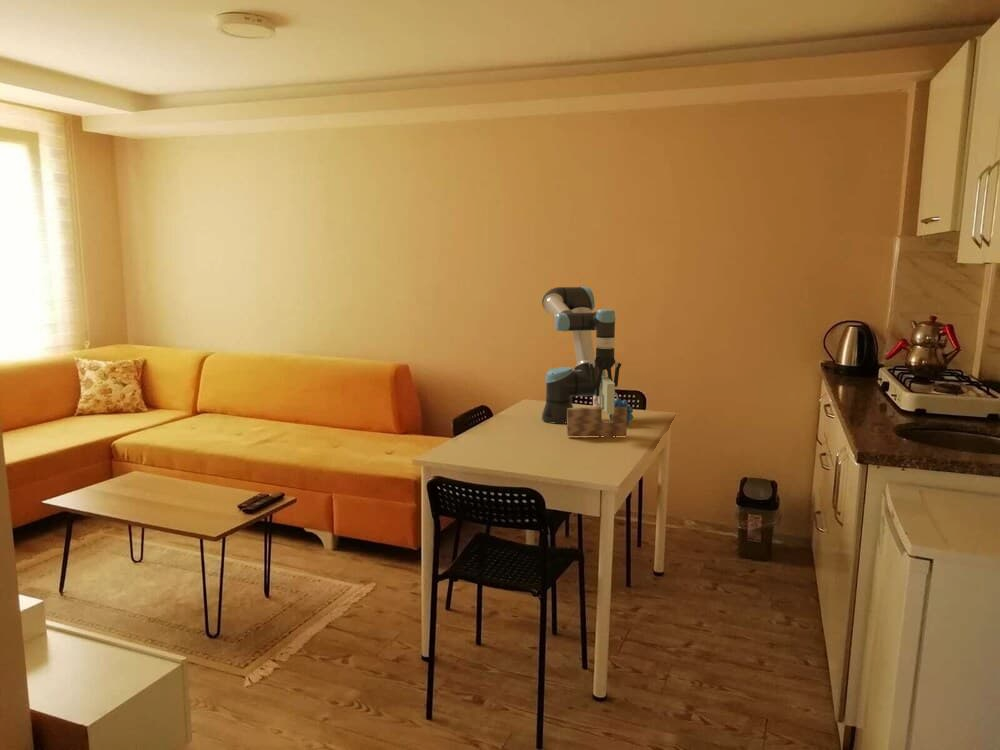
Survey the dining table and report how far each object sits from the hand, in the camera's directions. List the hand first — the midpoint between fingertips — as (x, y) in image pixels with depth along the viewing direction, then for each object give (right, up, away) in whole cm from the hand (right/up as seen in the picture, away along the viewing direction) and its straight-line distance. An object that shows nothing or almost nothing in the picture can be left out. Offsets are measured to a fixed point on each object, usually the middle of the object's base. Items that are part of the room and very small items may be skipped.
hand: (604, 403), depth 301 cm
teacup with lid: (+8, -4, +51) cm, 51 cm away
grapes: (+9, -10, +14) cm, 20 cm away
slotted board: (-4, -14, -4) cm, 15 cm away
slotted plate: (0, -2, -6) cm, 6 cm away
